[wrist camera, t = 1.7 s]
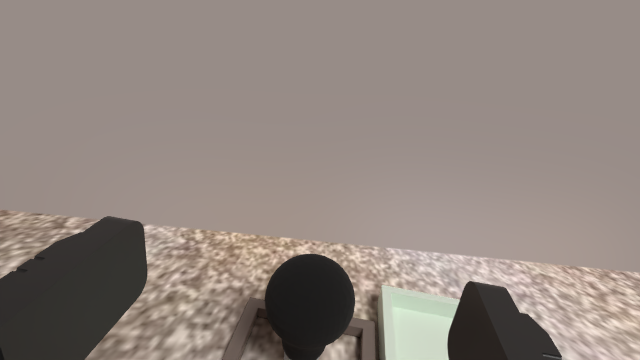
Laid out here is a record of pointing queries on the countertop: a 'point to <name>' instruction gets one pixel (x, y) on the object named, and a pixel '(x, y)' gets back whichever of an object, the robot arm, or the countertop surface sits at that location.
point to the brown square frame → (257, 309)
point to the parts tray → (413, 324)
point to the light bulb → (309, 305)
